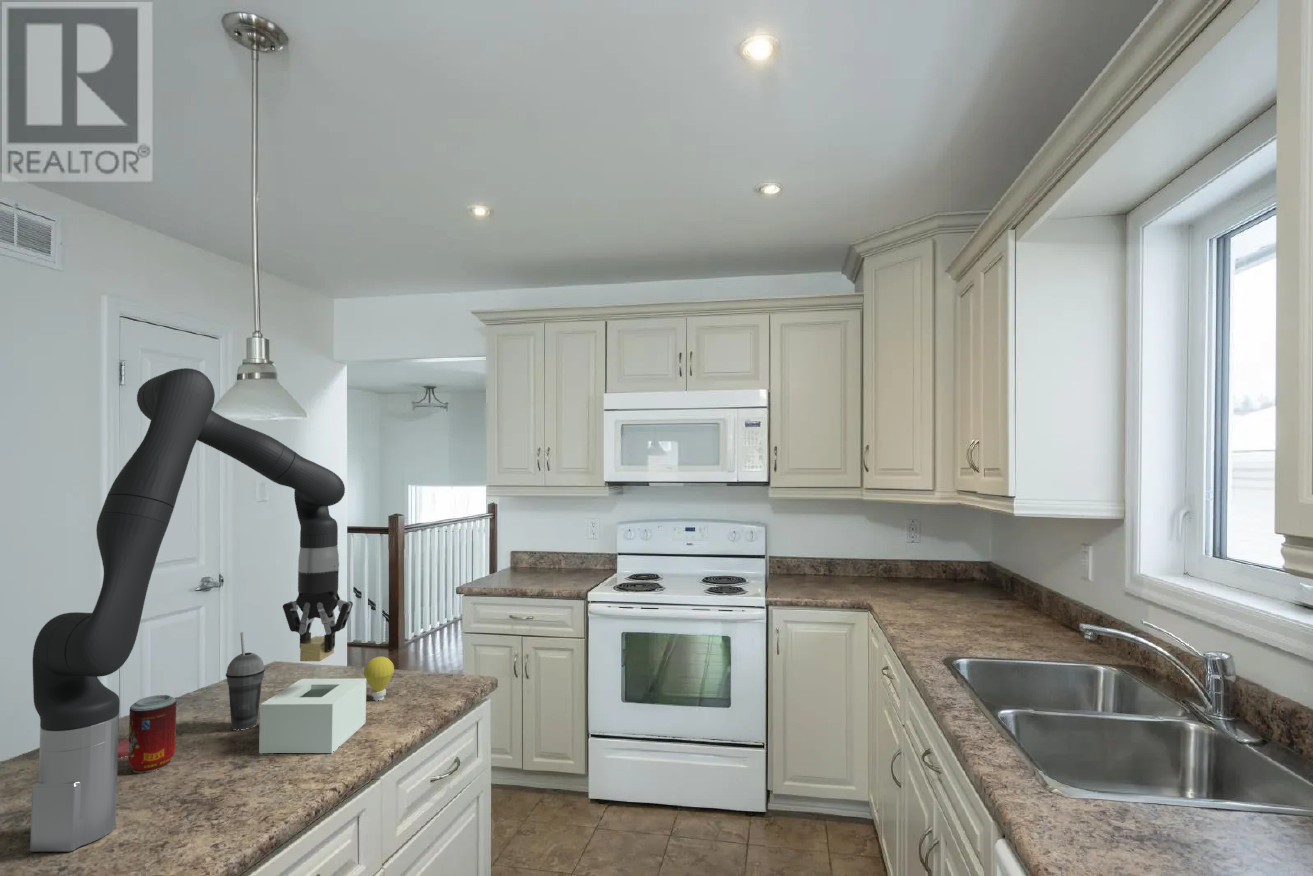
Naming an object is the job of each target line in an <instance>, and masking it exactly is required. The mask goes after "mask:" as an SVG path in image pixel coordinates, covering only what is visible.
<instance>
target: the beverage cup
mask: <svg viewBox="0 0 1313 876" xmlns="http://www.w3.org/2000/svg"><path fill="white" fill-rule="evenodd" d="M244 638H245V637H244V632H243V631H241V632H240V644H241V647H240V648H241V653H240V654H238V655H236V656H235V657H234V658H233V659H232V660H231V661H230V662H229V664H228V665H227V668H226V673H225V677H226V681H227V686H228V695H229V697H228V698H229V709H230V710H229V711H230V722H231V723H230V724H231V729H232V728H233V729H236V730H238V729H239V730H241V729H246V728H251V727H253V726H254V725H256V723H258V719H259V712H260V701H261V694H262V693H261V692H262V684H263V680H264V677H265V671H266V669H265V664H264V661H263V659H262V658H261V657H260V655H258V654H256V653H254V652H245V639H244ZM256 726H257V725H256ZM251 729H252V728H251Z"/></svg>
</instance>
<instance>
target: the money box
mask: <svg viewBox="0 0 1313 876" xmlns="http://www.w3.org/2000/svg"><path fill="white" fill-rule="evenodd" d="M366 716H367V680H366V678H365V677H364V678H301V679H299V680H298V681H296V682H295V683H292V684H291V685H289V686H288V687H286V688H284V689H283V690H281V691H279V692H278V693H277V694H275V695H272V696H271V697H270V698H268V699H266V700H265V701H263V702H262V703H259V735H258V736H259V741H258V743H259V744H258V754H259V753H293V752H294V753H332V754H333V753H334V752H335V751H336V750H337V749H339V748H340V747H341V746H342V745H343V744H344V743H346V741H347V740H348V739H350V737H352V736H353V735H354V734H355V733H356V732H357V731H359V729H361V728H362V726H364V725H365V724H366V723H367V722H366V721H367V720H366V718H367V717H366ZM339 746H340V747H339ZM338 747H339V748H338ZM333 751H334V752H333Z"/></svg>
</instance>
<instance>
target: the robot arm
mask: <svg viewBox="0 0 1313 876" xmlns="http://www.w3.org/2000/svg"><path fill="white" fill-rule="evenodd" d="M136 403H137V406H138V408H139V410H140V412H142V414H143V415H144V416H145V417H146V418H147V419H149V420H150V421H149V422H150V423H149V425H148V428H147V431H146V434H145V436H144V438H143V440H141V443H140V444H139V445H138V446H137V447H138V448H136V450H135V451H134V452H133V454H132V455H131V457H130V458H129V459H128V460H127V462H126V463H125V464H124V466H123V467H122V469H121V470H120V471H119V473H118V475H117V476H116V478H115V479H114V481H113V483H112V485H111V487H110V488H109V490H108V493H107V495H106V498H105V500H104V503H103V506H102V508H101V511H100V513H99V516H98V519H97V522H96V532H95V533H96V539H97V545H98V549H99V552H100V553H99V554H100V557H101V563H102V568H103V579H102V584H101V589H100V591H99V592H100V593H99V594H98V595H99V596H98V598H97V600H96V603H95V606H94V608H93V611H92V612H77V611H76V612H75V611H74V612H66V613H65V612H64V613H62V614H59V615H56V616H54V617H53V618H51V619H50V620H48V621H47V622H45V624H44V626H42V627H41V629H40V631H39V632H38V635H37V636H36V638H35V641H34V645H33V651H32V695H33V696H32V697H33V704H34V705H33V706H34V707H35V710H36V712H37V714H38V716H39V721H40V724H39V727H40V729H39V747H38V748H39V749H38V750H39V751H38V753H39V754H38V756H39V757H38V776H37V778H38V780H37V781H38V782H36V783H34V784H33V785H32V788H31V810H30V811H31V814H30V815H31V816H30V835H29V836H30V838H29V839H30V840H29V852H32V853H33V852H35V853H36V852H37V853H38V852H42V853H43V852H73V851H75V850H76V849H78V848H80V847H82V846H85V845H87V844H88V845H89V844H91V843H93V842H95V841H98V840H100V839H101V838H104V837H106V836H107V835H108V834H111V832H113V830H114V829H115V828H116V824H117V820H116V819H117V796H118V795H117V794H118V792H117V791H118V790H117V789H118V766H119V765H118V764H119V763H118V761H119V760H118V743H119V733H120V732H119V731H120V698H119V697H120V696H119V695H118V694H117V693H116V692H115V691H113V690H111V689H109V687H107V686H105V685H104V684H103V683H102V682H101V680H100V679H99V678H100V677H106V676H109V675H112V674H113V673H116V672H117V671H118V670H119V669H121V668H122V667H123V665H124V664H125V663H126V662H127V660H128V658H129V657H130V655H131V653H132V652H133V650H134V646H135V644H136V640H137V636H138V633H139V628H140V625H141V620H142V615H143V611H144V605H145V602H146V596H147V592H148V588H149V585H150V580H151V577H152V573H153V571H154V567H155V564H156V560H157V557H158V554H159V551H160V548H161V545H162V542H163V540H164V537H165V534H166V531H167V529H168V528H169V524H170V521H171V518H172V515H173V512H174V509H175V507H176V503H177V500H178V496H179V493H180V489H181V487H182V483H183V481H184V477H185V475H186V471H187V468H188V465H189V462H190V458H191V454H192V452H193V449H194V448H195V445H196V443H197V441H198V442H200V443H202V444H204V445H207V446H209V447H210V448H213V449H215V450H217V451H219V452H221V453H223V454H225V455H227V456H229V457H231V458H233V459H234V460H236V461H238V462H240V463H242V464H243V465H245V466H247V467H248V468H250V469H252V470H253V471H255V472H257V473H258V474H260V475H261V476H263V477H264V478H266V479H268V480H270V481H271V482H273V483H276V484H278V485H280V486H284V487H288V488H291V489H293V490H294V492H293V493H294V495H293V497H294V504H295V508H296V513H297V518H298V521H299V524H300V532H299V533H300V534H299V536H300V537H299V552H298V553H299V554H298V560H297V561H298V569H297V573H298V574H297V576H298V577H297V591H298V596H297V598H296V599H295V600H293V601H289V602H287V603H284V604H283V605H282V609H283V612H284V615H285V618H286V621H287V625H288V627H289V630H290V632H293V633H294V632H296V633H298V634H299V645H300V644H301V643H303V642H306V641H307V640H309V639H311V638H312V632H311V629H312V624H313V622H314V621H315V618H316V619H320V620H321V622H320V623H321V624H322V625H323V628H324V632H325V634H324V635H323V636H324V641H325V653H329V652H330V651H332V649H333V648H334V649H335V646H336V633H337V632H339V631H341V630H344V629H346V624H347V622H348V619H349V617H350V614H351V611H352V607H353V605H354V603H353V602H352V601H351V600H350V601H345V600H343V599H341V597H340V595H339V593H338V592H339V571H340V569H339V568H340V561H339V560H340V559H339V548H338V547H339V546H338V541H339V540H338V537H339V535H338V534H339V533H338V529H339V528H338V527H339V526H338V522H337V520H336V519H335V518H333V517H332V516H331V515H330V510H329V507H331V506H334V505H336V504H338V503H340V502H341V501H342V499H343V497H344V496H345V493H346V488H345V487H346V486H345V483H344V481H343V479H342V478H341V477H340V476H339V475H337V474H336V473H335V472H334V471H332V470H330V469H328V468H326V467H324V466H323V465H321V464H318V463H316V462H315V461H312V460H309V459H307V458H305V457H303V456H301V455H300V454H299V453H297V452H296V451H295V450H293V449H292V448H290V447H288V446H287V445H285V444H284V443H282V442H280V441H279V440H277V439H276V438H274V437H272V436H270V435H268V434H266V433H264V432H261V431H259V430H256V429H254V428H250V427H247V426H245V425H242V424H240V423H237V422H235V421H232V420H230V419H229V418H226V417H224V416H222V415H221V414H218V413H217V412H215V411H214V410H213V407H214V403H215V389H214V386H213V383H212V381H211V380H210V378H209V377H208V376H207V375H206V374H205V373H203V372H202V371H200V370H198V369H194V368H189V367H187V368H184V367H183V368H176V369H172V370H169V371H166V372H165V373H161V374H159V375H157V376H154V377H151V378H150V379H148V380H147V381H145V382H144V383H143V384H142V385H141V386H140V387H139V388H138V390H137V395H136ZM337 606H338V612H339V613H338V616H337V620H336V616H335V615H336V614H335V612H334V611H335V609H336V608H337ZM298 609H300V610H301V612H302V615H301V618H300V616H299V613H298ZM335 621H336V622H335Z"/></svg>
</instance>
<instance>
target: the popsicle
mask: <svg viewBox="0 0 1313 876" xmlns="http://www.w3.org/2000/svg"><path fill="white" fill-rule="evenodd" d="M128 752H129V737H127V738H125V739H123V740H122V741H120V742H118V758H119V759H122V758H121V757H124V758H126V757H125V756H128Z"/></svg>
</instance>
